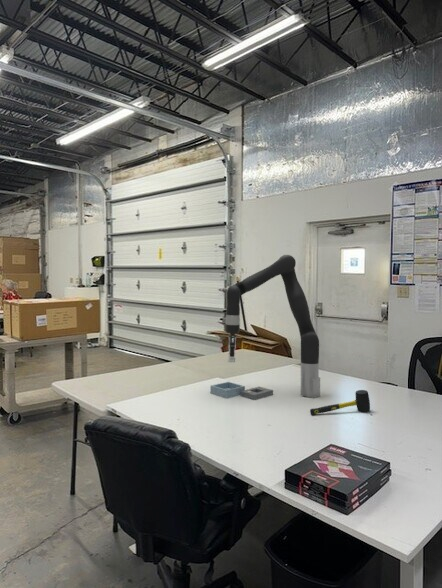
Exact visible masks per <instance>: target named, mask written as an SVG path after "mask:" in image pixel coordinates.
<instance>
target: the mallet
mask: <svg viewBox="0 0 442 588" xmlns="http://www.w3.org/2000/svg"><path fill="white" fill-rule="evenodd" d="M353 406H356V409H357V411H358V412H359V413H368V412H370V411H371V403H370V395H369V392H368V390H365V389H358V390H356V391H355V399H354V400H352V401H348V402H343V403H336V404H330V405H324V406H321V407H316V408H310V410H309V413H310V415H311V416H314V415H317V414H322V413H323V414H325V413H328V412H333V411H336V410H340V409H345V408H348V407H353Z"/></svg>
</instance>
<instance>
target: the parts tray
mask: <svg viewBox="0 0 442 588" xmlns="http://www.w3.org/2000/svg"><path fill="white" fill-rule="evenodd" d="M243 390H246V386H245V385H242V384H238V383H235V382H231V381H225V382H220V383H217V384H211V385H210V391H209V392H210V394H213V395H215V396H218V397H221V398H224V399H229V398H233V397H236V396H241V391H243Z"/></svg>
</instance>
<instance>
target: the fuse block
mask: <svg viewBox="0 0 442 588" xmlns="http://www.w3.org/2000/svg"><path fill="white" fill-rule="evenodd" d="M273 395H274V390H273V389H270V388H268V387H267V388H266V387H263V386H256V387H251V388H249V389H245V390H243V391H241V395H240V396H241V397H242V398H243V397H244V398H246V399H250V400H253V401H257V400H259V399H263V397H264V398H266V397H271V396H273Z"/></svg>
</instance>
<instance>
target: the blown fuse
mask: <svg viewBox="0 0 442 588" xmlns="http://www.w3.org/2000/svg"><path fill="white" fill-rule="evenodd" d="M236 346H237V344H236V345H235V350H234V357H230V345H229V344H228V346H227V347H228V348H227V349H228V357H227V362H228V363H235V362H236ZM231 347H234V345H231Z"/></svg>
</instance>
